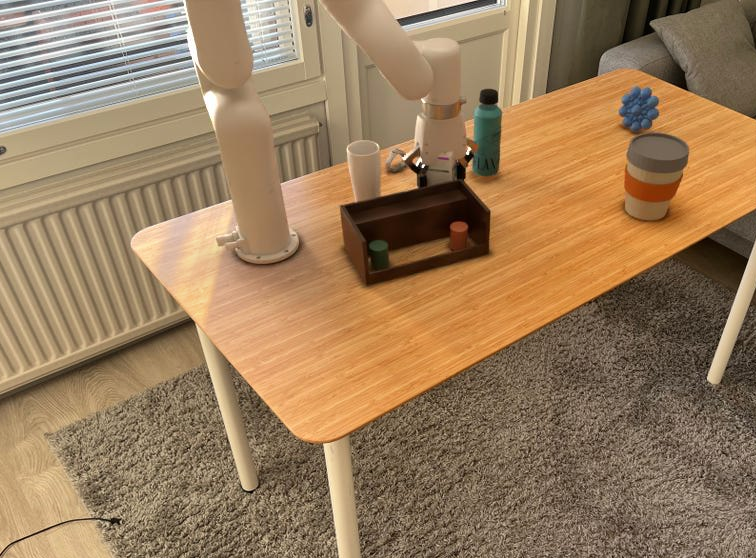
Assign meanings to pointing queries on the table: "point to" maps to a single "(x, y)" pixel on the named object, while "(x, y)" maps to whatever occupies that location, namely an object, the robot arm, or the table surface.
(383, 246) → the green spice tin
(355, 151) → the drinking glass
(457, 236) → the salmon pink cylinder
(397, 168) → the wristwatch
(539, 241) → the table surface
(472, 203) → the spice rack
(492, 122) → the beverage bottle
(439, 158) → the syrup box
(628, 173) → the reusable coffee cup
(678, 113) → the table surface
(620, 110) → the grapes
